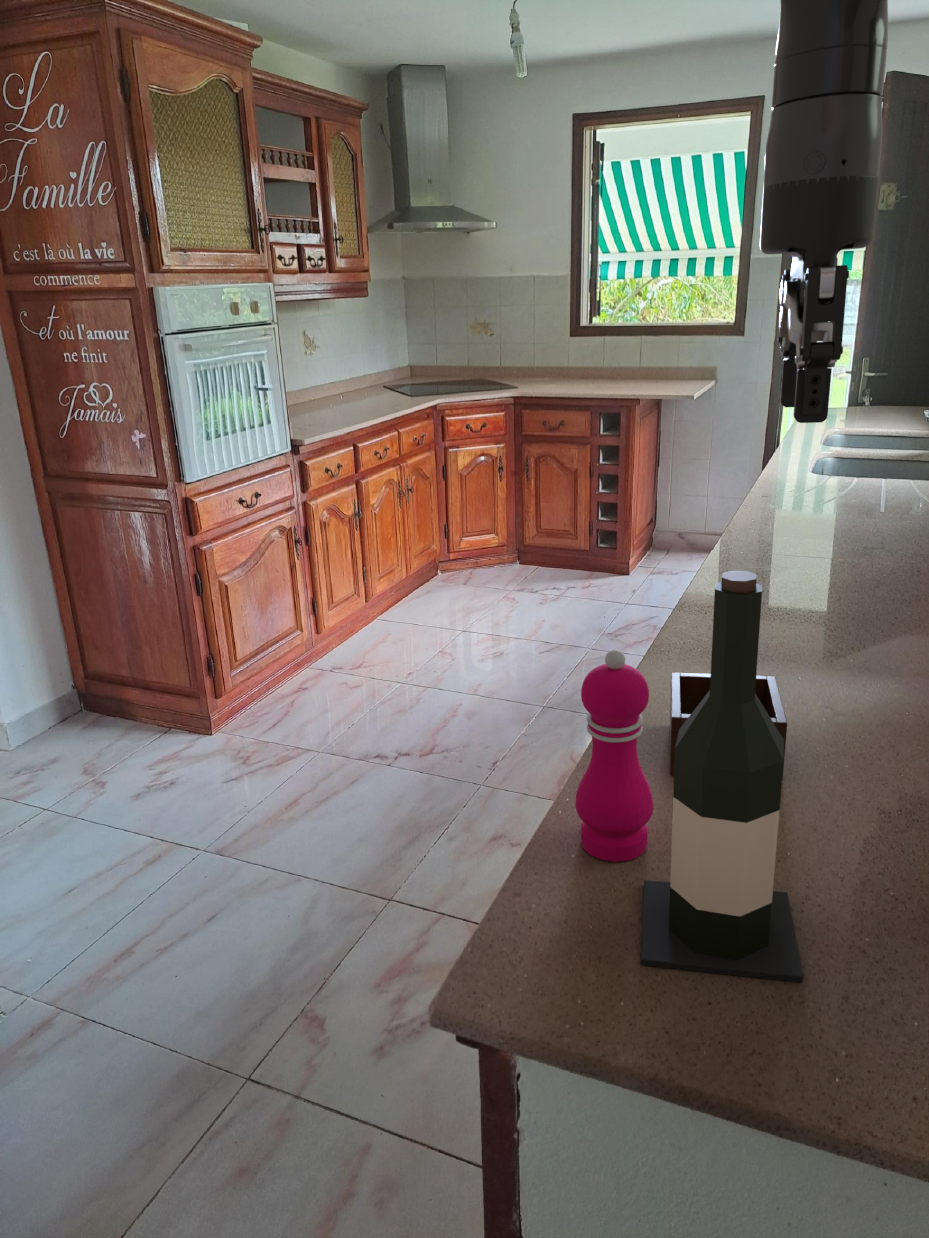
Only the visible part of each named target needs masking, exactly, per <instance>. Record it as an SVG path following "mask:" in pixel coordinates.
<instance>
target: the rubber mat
mask: <svg viewBox="0 0 929 1238" xmlns="http://www.w3.org/2000/svg"><path fill="white" fill-rule="evenodd" d="M642 900H643V901H642V923H641V924H642V925H641V944H640V945H641V947H640V965H641V966H644V967H645V966H646V967H653V968H654V967H655V968H665V969H673V970H681V971H690V972H691V971H692V972H701V973H709V974H710V973H711V974H721V975H728V976H737V977H748V978H755V979H756V978H757V979H766V980H776V981H782V982H794V983H803V981H804V974H803V970H802V969H803V968H802V964H801V958H800V954H799V948H798V944H797V943H798V942H797V938H796V937H797V936H796V932H795V927H794V921H793V918H792V917H793V916H792V911H791V906H790V900H789V895H788V892H787V891H786V892H785V891H776V890H773V895H772V907H771V919H770V931H769V943H768V946H767V947H765V948H763V949H761V950H758V951H756V952H754V953H752V954H750V955H748V956H746V957H743V958H741V959H739V960H732V959H727V958H721V957H715V956H710V955H704V954H699V953H694V952H693V951H692V950H691V949H690V948H689V947H688V946H687V945H686V944H685V943H684V942H683V941H681V940H680V939H679V938H678V937H677V936H676V935H675V934H674V933H673V932H672V931H671V930H669V908H670V881H661V880H660V881H659V880H649V879H644V880H643V897H642Z"/></svg>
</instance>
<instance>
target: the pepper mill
mask: <svg viewBox="0 0 929 1238" xmlns="http://www.w3.org/2000/svg"><path fill="white" fill-rule="evenodd" d="M581 684H582V685H581V689H580V698H581V703H582V705H583V707H584V709H585V710H586V711H587V716H586V722H587V724H586V731H587V733H588V734H589V735H590V736H591V740H592V748H591V758H590V761H589V764H588V766H587V768H586V769H585V772H584V774H583V775H582V778H581V779H580V781H579V784H578V787H577V790H576V796H575V811H576V814H577V815H578V817H579V819H580V820H581V821H582V822H581V825H580V842H581V845H582V848H583V849H584V851H585V852H587V853H588V854H589V855H590V856H592V857H594V858H596V859H598V860H602V861H604V862H612V863H617V862H618V863H621V862H628V861H631V860H634V859H636V858H639V857H640V856H641V855H643V854H644V852H645V851H646V850H647V847H648V826H647V823H648V822H650V819H651V818H652V817H653V813H654V797H653V792H652V789H651V786H650V782H649V780H648V779H647V777H646V774H645V772H644V770H643V768H642V766H641V763H640V759H639V756H638V738H639V737H640V736H641V735H642V733H643V729H644V728H643V722H644V718H643V715H642V713H643V712H644V711H645V709H646V708H647V706H648V704H649V699H650V690H649V684H648V682H647V679H646V678H645V676H644V674H642V672H641V671H640V670H638V669H637V668H635V667H633V666H632V665H629V664H626V657H625V654H624V653H623V652H622V651H621V650H618V649H612V650H609V651H608V652H607V653H606V654H605V656H604V663H603V664H600V665H597V666H596V667H594V668H592V669H591V670H590V671H589V672H588V673H587V675H586V676H585V677H584V679H583V681H582V683H581Z"/></svg>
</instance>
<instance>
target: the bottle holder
mask: <svg viewBox="0 0 929 1238" xmlns="http://www.w3.org/2000/svg"><path fill="white" fill-rule="evenodd" d="M710 678H711V673H697V672H694V673H693V672H692V673H691V672H671V673H670V701H669V702H670V703H669V775H670V776H674V761H675V746H676V742H677V737H678V733H679V729H680V728H681V726H682V725H683V724H684V723H685V721H686V720H687V719H688V717H689V716H690V715H691V714H692V712H693V711H694V710H695V708H696V707H697V706H698V705H699V703H700V702H701V701H702V700H703V698H704V697H705V696H706V694H707V693H708V692H709V691H710ZM755 693H756V695H757V697H758V698H759V700H760V702H761V703H762V705H763V707H764V708H765V710H766V711H767V713H768V715H769V716H770V718H771V720H772V721H773V723H774V725H775V726H776V728H777V730H778V731H779V733H780V735H781V736H782V738H783V740H784V759H785V757H786V756H785V755H786V744H787V733H788V720H787V717H786V713H785V708H784V705H783V702H782V701H783V700H782V698H781V694H780V689H779V686H778V682H777V679H776V676H774V675H756V687H755ZM784 768H785V763H784V764H783V771H784ZM783 780H784V775H783V776H782V782H783Z"/></svg>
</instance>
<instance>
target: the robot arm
mask: <svg viewBox="0 0 929 1238" xmlns="http://www.w3.org/2000/svg"><path fill="white" fill-rule="evenodd" d="M779 1H780V3H779V5H780V7H779V9H780V11H779V12H780V13H779V21H778V31H777V39H776V44H775V50H774V51H775V52H774V62H773V64H774V65H773V66H774V67H773V80H772V96H771V97H772V98H771V112H770V121H769V127H768V132H767V137H766V143H765V153H764V167H763V168H764V169H763V186H762V187H763V188H762V203H761V204H762V205H761V218H760V220H761V221H760V234H759V235H760V237H759V249H760V251H761V253H763V254H765V255H783V254H788V255H790V256H791V258H792V262H791V267H790V268H785V269H784V273H783V274H782V276H781V278H782V279H781V282H780V288H779V304H780V309H779V310H780V312H779V316H778V335H779V336H777V344H778V347H779V353H780V356H781V358H783V359H782V369H781V383H780V397H779V402H780V404H781V405H782V406H783V407H784V408H793V419H794V420H795V421H796V422H797V423H800V424H812V423H813V424H814V423H815V424H816V423H823V422H825V421H826V420H827V418H828V416H829V415H828V414H829V405H830V403H829V402H830V391H831V382H832V370H833V369H832V368H835V366H836V362H838V361H839V360H840V359H841V356H842V355H843V353H844V346H843V337H844V336H843V335H844V323H845V310H846V300H847V299H846V298H847V286H848V279H849V277H850V270H849V267H848V265H847V264H841V265H839V264H838V262H839V261H838V254H839V252H841V251H845V250H859V249H864V248H867V247H868V246H869V245H870V244H871V243H872V241H873V238H874V229H875V227H874V226H875V220H876V219H875V218H876V215H875V214H876V207H877V199H878V198H877V197H878V187H879V180H880V179H879V178H880V169H881V168H880V167H881V156H882V146H883V132H884V131H883V129H884V128H883V127H884V125H883V97H882V96H883V95H884V88H885V87H884V85H885V76H886V75H885V74H886V66H887V65H886V64H887V56H888V55H887V54H888V51H887V50H888V40H889V4H888V3H889V1H888V0H779Z"/></svg>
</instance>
